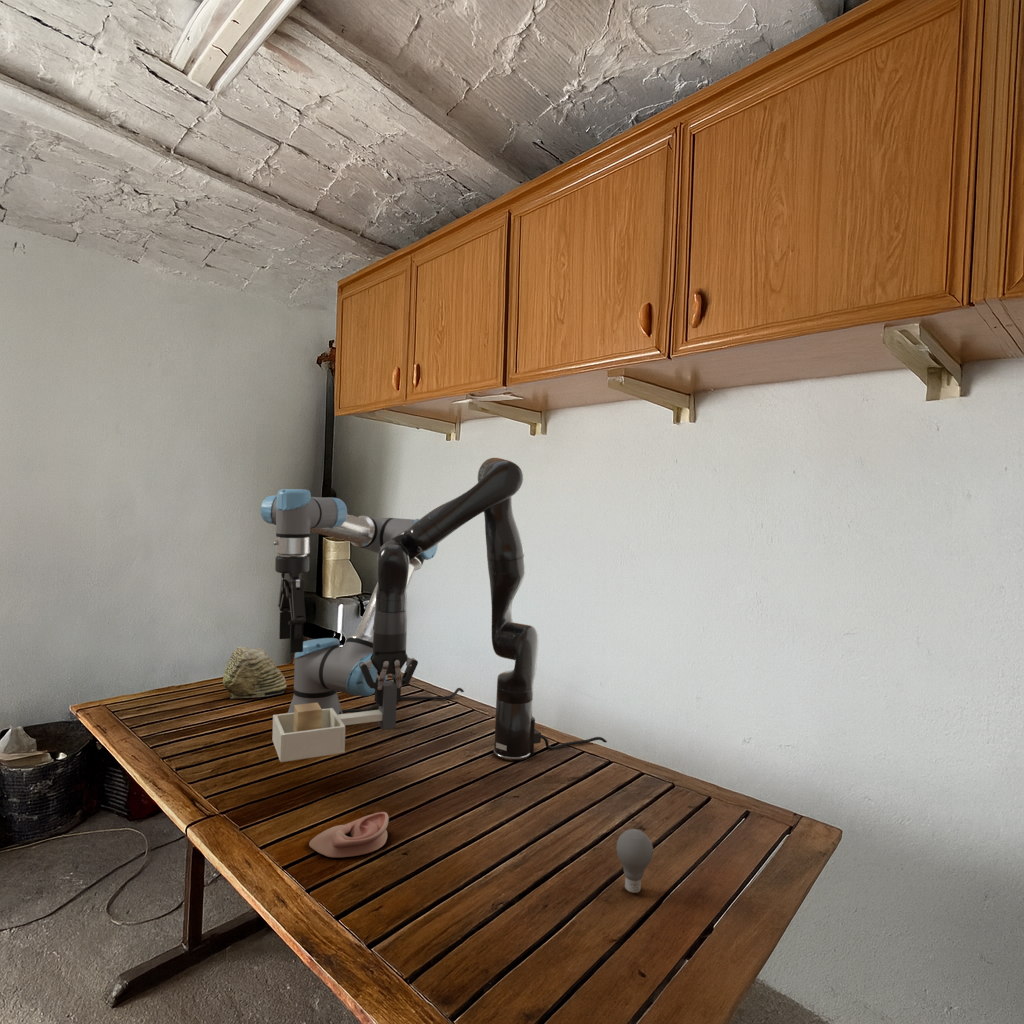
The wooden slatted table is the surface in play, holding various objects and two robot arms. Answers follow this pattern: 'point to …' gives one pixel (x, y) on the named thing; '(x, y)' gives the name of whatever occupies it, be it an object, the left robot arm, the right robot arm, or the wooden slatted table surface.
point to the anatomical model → (353, 837)
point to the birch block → (307, 717)
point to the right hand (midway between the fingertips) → (387, 703)
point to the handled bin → (329, 729)
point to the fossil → (252, 674)
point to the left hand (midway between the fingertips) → (290, 645)
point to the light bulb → (634, 857)
